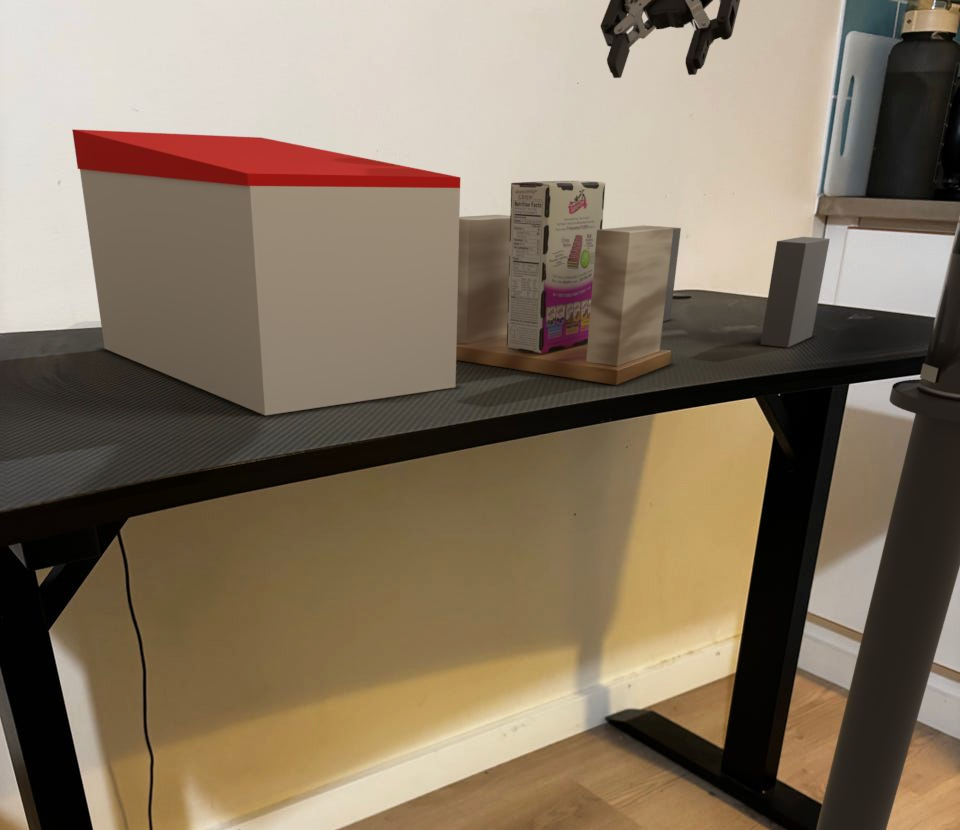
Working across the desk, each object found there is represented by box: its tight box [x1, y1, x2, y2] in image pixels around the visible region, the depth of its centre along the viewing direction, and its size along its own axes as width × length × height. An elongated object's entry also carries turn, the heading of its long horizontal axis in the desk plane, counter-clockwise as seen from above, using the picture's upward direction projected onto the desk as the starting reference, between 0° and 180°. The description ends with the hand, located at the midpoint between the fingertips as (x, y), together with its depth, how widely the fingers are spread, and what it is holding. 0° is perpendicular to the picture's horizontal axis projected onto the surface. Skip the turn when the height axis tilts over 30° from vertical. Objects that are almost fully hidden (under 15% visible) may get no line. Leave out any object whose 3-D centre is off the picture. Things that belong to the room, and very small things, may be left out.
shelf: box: [456, 214, 674, 386], centre depth 103 cm, size 23×14×14 cm, turn 58°
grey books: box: [658, 225, 830, 349], centre depth 126 cm, size 24×11×12 cm, turn 58°
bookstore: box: [71, 128, 461, 416], centre depth 93 cm, size 21×35×21 cm, turn 41°
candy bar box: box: [507, 180, 606, 354], centre depth 102 cm, size 11×5×16 cm, turn 143°
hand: (651, 70), depth 103 cm, fingers open, 8 cm apart
